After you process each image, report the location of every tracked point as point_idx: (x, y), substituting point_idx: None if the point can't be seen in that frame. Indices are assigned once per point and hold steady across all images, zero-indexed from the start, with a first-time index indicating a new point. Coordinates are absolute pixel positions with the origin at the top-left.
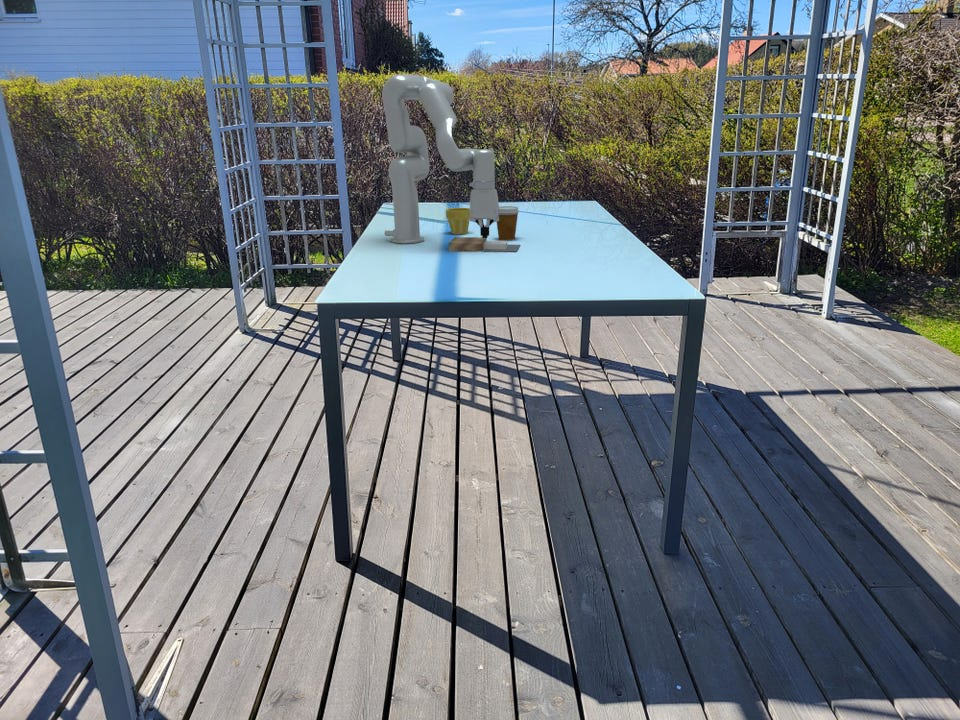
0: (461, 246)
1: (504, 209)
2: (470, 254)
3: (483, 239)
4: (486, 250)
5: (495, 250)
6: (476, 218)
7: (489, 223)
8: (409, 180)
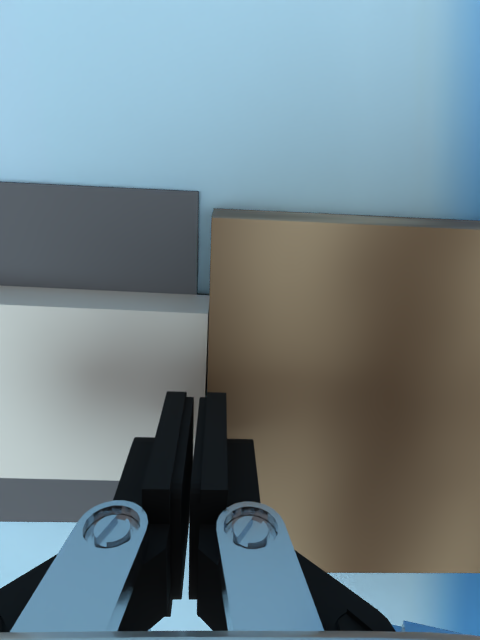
0: (467, 225)
1: None
2: (337, 23)
3: None
4: (166, 223)
5: (63, 220)
6: (405, 635)
7: (51, 564)
8: None
